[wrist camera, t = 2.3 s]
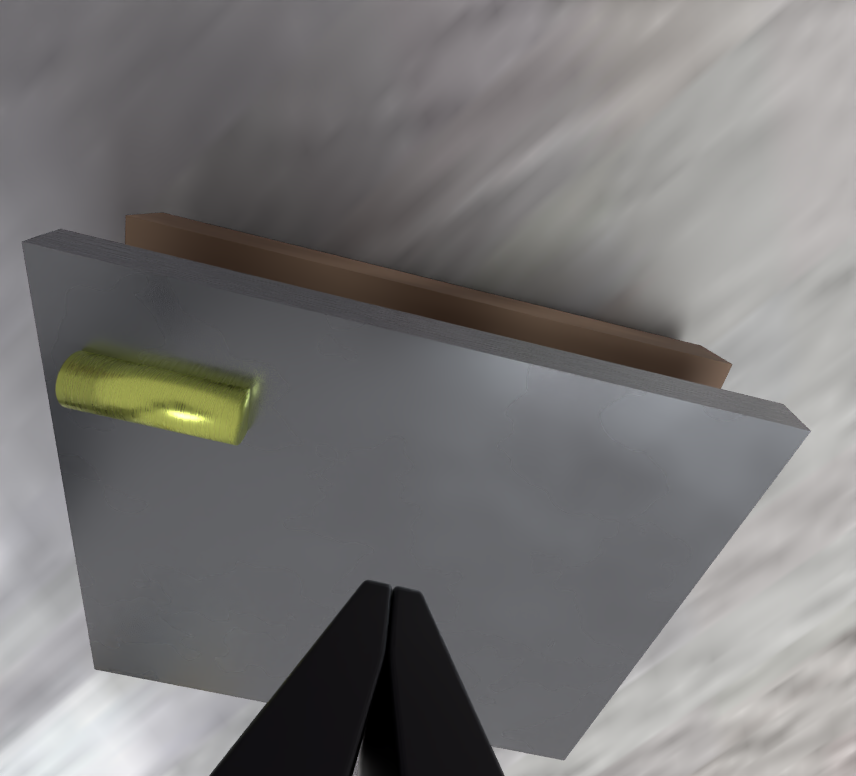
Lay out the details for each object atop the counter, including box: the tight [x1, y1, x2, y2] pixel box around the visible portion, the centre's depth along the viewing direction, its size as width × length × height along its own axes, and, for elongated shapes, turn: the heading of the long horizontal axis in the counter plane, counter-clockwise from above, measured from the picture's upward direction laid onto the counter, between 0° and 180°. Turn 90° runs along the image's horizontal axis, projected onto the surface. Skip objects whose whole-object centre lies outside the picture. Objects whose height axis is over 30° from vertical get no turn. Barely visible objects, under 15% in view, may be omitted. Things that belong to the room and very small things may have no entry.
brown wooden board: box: [125, 213, 732, 389], centre depth 19 cm, size 18×16×3 cm
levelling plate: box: [22, 229, 811, 760], centre depth 15 cm, size 18×16×2 cm
